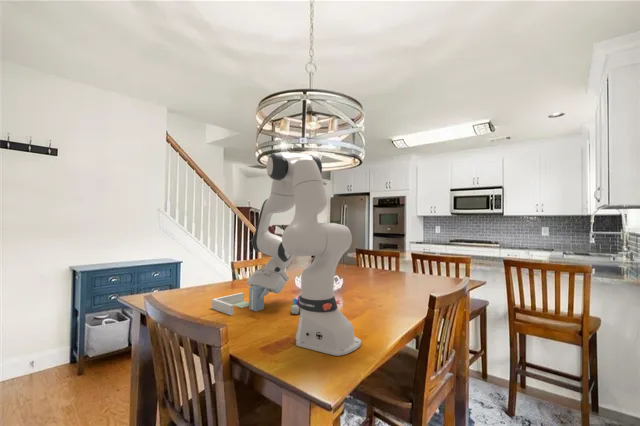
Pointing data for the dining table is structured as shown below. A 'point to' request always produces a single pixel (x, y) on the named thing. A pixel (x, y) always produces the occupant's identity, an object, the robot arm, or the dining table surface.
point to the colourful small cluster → (295, 306)
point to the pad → (241, 304)
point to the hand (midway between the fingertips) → (255, 297)
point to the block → (256, 298)
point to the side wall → (223, 307)
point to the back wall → (231, 298)
